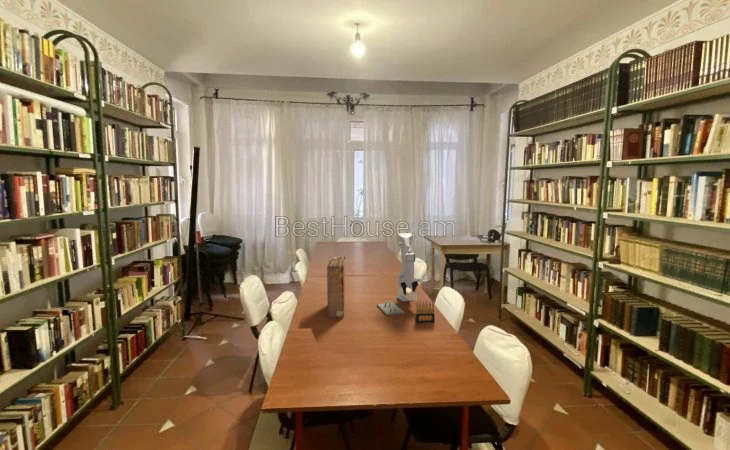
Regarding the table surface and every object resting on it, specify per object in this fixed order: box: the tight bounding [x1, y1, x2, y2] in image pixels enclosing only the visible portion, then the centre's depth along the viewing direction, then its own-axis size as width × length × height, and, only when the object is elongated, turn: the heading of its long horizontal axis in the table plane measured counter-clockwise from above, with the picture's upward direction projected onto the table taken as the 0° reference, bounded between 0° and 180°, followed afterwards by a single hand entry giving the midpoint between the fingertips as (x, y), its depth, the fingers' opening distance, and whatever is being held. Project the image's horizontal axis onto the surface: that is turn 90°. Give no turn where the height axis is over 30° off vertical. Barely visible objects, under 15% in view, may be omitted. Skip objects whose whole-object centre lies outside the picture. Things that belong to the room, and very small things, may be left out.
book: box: [326, 257, 346, 319], centre depth 227 cm, size 25×9×30 cm, turn 2°
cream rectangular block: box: [401, 288, 419, 302], centre depth 234 cm, size 14×5×4 cm, turn 16°
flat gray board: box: [376, 299, 405, 316], centre depth 230 cm, size 18×11×4 cm, turn 16°
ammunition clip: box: [414, 300, 436, 324], centre depth 210 cm, size 11×2×12 cm, turn 94°
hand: (408, 294), depth 234 cm, fingers closed on cream rectangular block, 5 cm apart
